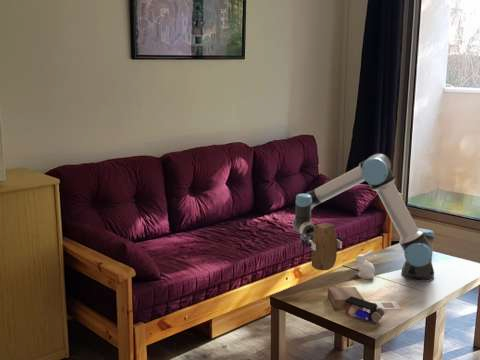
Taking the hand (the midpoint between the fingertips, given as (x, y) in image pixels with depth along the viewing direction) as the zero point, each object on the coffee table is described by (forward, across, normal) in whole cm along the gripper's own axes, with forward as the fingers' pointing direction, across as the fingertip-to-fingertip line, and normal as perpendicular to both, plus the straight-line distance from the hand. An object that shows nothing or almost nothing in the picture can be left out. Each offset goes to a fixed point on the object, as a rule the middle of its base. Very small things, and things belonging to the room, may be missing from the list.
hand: (328, 246), depth 254 cm
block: (-4, 0, -11) cm, 12 cm away
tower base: (+12, -4, -22) cm, 25 cm away
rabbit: (-16, -27, -22) cm, 38 cm away
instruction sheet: (+17, -18, -22) cm, 33 cm away
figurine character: (+27, -5, -22) cm, 35 cm away
